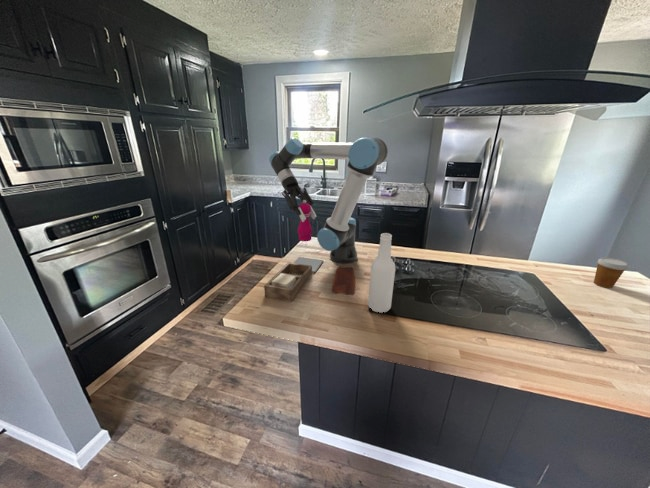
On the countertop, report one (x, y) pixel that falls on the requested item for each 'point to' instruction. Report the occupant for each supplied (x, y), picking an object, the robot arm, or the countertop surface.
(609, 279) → the disposable coffee cup
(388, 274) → the alcohol
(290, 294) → the tray
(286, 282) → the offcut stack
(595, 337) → the countertop surface
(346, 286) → the wooden tablet
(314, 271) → the slate tile
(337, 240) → the robot arm
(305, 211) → the pepper mill
